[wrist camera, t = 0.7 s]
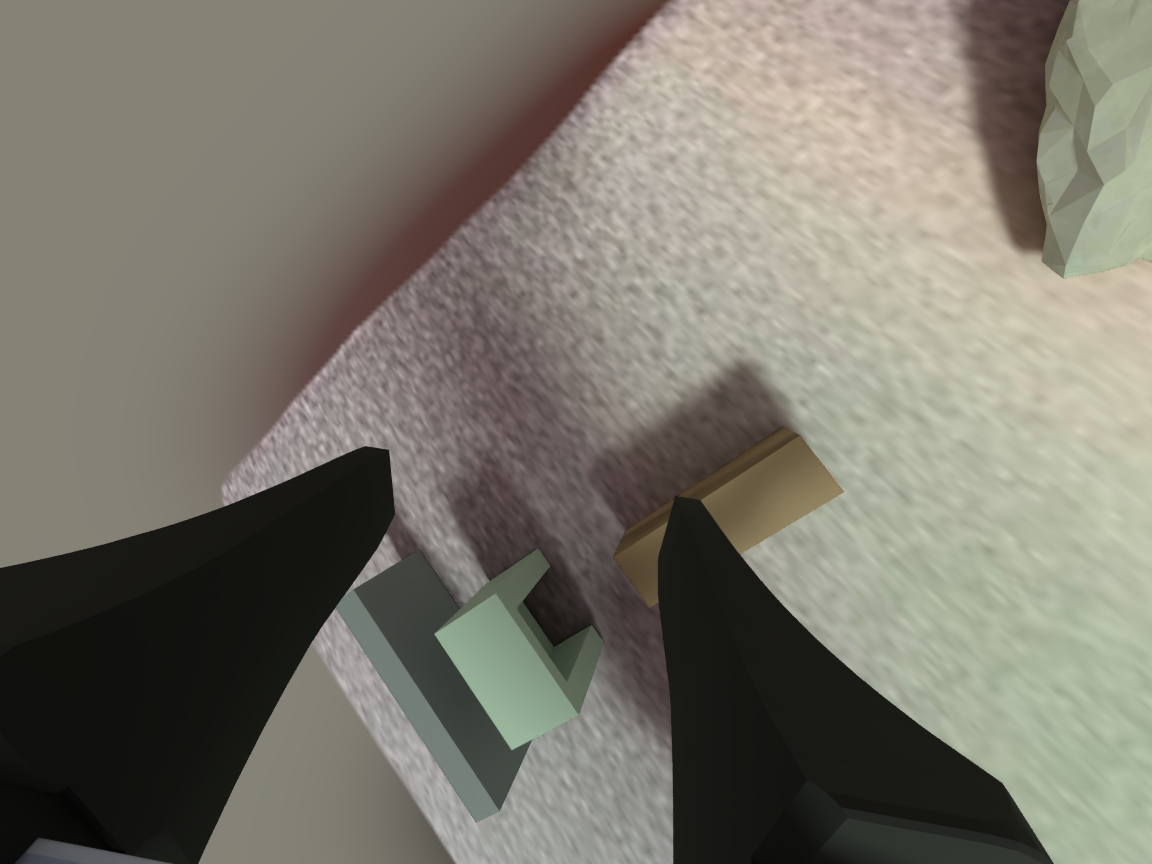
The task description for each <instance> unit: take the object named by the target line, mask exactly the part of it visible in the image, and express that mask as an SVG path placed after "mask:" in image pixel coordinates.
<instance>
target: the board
mask: <svg viewBox="0 0 1152 864" xmlns="http://www.w3.org/2000/svg"><path fill="white" fill-rule="evenodd" d="M336 610H337V611H338V613H339V614H340V616H341V617H342V619H343V620H344V622H345V623H346V625H347V626H348V628H349V629H350V631H351V632H352V634H353V636H354V637H355V639H356V640H357V642H358V643H359V645H360V646H361V648H362V649H363V651H364V652H365V654H366V655H367V657H368V658H369V660H370V662H371V663H372V665H373V666H374V668H375V669H376V671H377V672H378V674H379V675H380V677H381V678H382V680H383V681H384V683H385V684H386V686H387V688H388V689H389V691H390V692H391V694H392V695H393V697H394V698H395V700H396V701H397V703H398V704H399V706H400V707H401V709H402V710H403V712H404V714H405V715H406V717H407V718H408V720H409V721H410V723H411V724H412V726H413V727H414V729H415V730H416V732H417V733H418V735H419V736H420V738H421V740H422V741H423V743H424V744H425V746H426V747H427V749H428V750H429V752H430V753H431V755H432V756H433V758H434V759H435V761H436V762H437V764H438V766H439V767H440V769H441V770H442V772H443V773H444V775H445V776H446V778H447V779H448V781H449V782H450V784H451V785H452V787H453V788H454V790H455V792H456V793H457V795H458V796H459V798H460V799H461V801H462V802H463V804H464V805H465V807H466V808H467V810H468V811H469V813H470V814H471V816H472V818H473V819H474V821H475V822H478V821H480V820H483V819H485V818H487V817H489V816H491V815H493V814H495V813H497V812H499V811H500V809H501V807H502V805H503V803H504V801H505V798H506V796H507V794H508V792H509V790H510V787H511V785H512V783H513V781H514V779H515V776H516V774H517V772H518V770H519V768H520V765H521V763H522V761H523V759H524V757H525V754H526V752H527V750H528V748H529V746H530V743H531V741H532V740H530V741H528V742H526V743H525V744H523V745H521V746H519V747H517V748H515V749H513V750H511V748H510V747H509V745H508V744H507V742H506V741H505V739H504V738H503V736H502V735H501V733H500V732H499V730H498V729H497V727H496V726H495V724H494V723H493V721H492V720H491V718H490V717H489V715H488V714H487V712H486V711H485V709H484V708H483V706H482V705H481V703H480V702H479V700H478V699H477V697H476V696H475V694H474V693H473V691H472V690H471V688H470V687H469V685H468V684H467V682H466V681H465V679H464V678H463V676H462V675H461V673H460V672H459V670H458V669H457V667H456V666H455V664H454V663H453V661H452V660H451V658H450V657H449V655H448V654H447V652H446V651H445V649H444V648H443V646H442V645H441V643H440V642H439V640H438V639H437V637H436V636H435V633H436V632H437V631H438V630H439V629H440V628H441V627H442V626H443V625H444V624H445V623H446V622H447V621H448V620H449V619H450V618H451V617H452V616H453V615H454V614H455V613H456V612H458V611H459V610H460V609H459V607H458V606H457V604H456V603H455V601H454V600H453V598H452V597H451V595H450V594H449V592H448V591H447V589H446V588H445V586H444V585H443V583H442V582H441V580H440V579H439V577H438V576H437V574H436V573H435V572H434V570H433V569H432V567H431V566H430V564H429V563H428V561H427V560H426V558H425V557H424V555H423V554H422V552H421V551H420V549H419V550H418V551H416V552H414V553H413V554H411V555H410V556H408V557H406V558H405V559H403V560H401V561H400V562H398V563H396V564H395V565H393V566H391V567H390V568H388V569H386V570H385V571H383V572H382V573H380V574H378V575H377V576H375V577H373V578H372V579H370V580H368V581H367V582H365V583H363V584H362V585H360V586H358V587H357V588H355V589H354V590H352V591H351V592H350V593H348V594H347V595H346V596H344V597H343V598H342V599H341V601H340V602H339V603H338V605H337V606H336Z"/></svg>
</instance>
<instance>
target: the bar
mask: <svg viewBox="0 0 1152 864" xmlns="http://www.w3.org/2000/svg"><path fill="white" fill-rule="evenodd" d="M843 492H844V491H843V490H842V488H841V487H840V486H839V485H838V483H837V482H836V481H835V479H834V478H833V477H832V476H831V474H830V473H829V472H828V471H827V469H826V468H825V467H824V465H823V464H822V463H821V462H820V460H819V459H818V458H817V456H816V455H815V454H814V453H813V451H812V450H811V449H810V447H809V446H808V445H807V444H806V442H805V441H804V440H803V439H802V437H801V436H800V435H798V434H796V433H794V432H792V431H790V430H788V429H786V428H784V427H781V428H779V429H778V430H776V431H775V432H773V433H772V434H770V435H769V436H767V437H766V438H764V439H763V440H761V441H760V442H758V443H757V444H755V445H754V446H752V447H751V448H749V449H748V450H746V451H745V452H743V453H742V454H740V455H739V456H737V457H736V458H734V459H733V460H731V461H730V462H728V463H727V464H725V465H724V466H722V467H721V468H719V469H718V470H716V471H715V472H713V473H712V474H710V475H709V476H707V477H706V478H704V479H703V480H701V481H700V482H698V483H697V484H695V485H694V486H692V487H691V488H689V489H688V490H686V491H685V492H683V493H682V494H680V495H679V496H680V497H686V498H692V499H698V500H701V502H702V503H703V504H704V506H705V507H706V509H707V510H708V511H709V513H710V514H711V516H712V517H713V518H714V520H715V521H716V523H717V524H718V526H719V527H720V528H721V530H722V531H723V532H724V534H725V535H726V537H727V538H728V539H729V541H730V542H731V543H732V545H733V546H734V547H735V549H736V550H737V551H738V553H739V554H741V553H743V552H744V551H746V550H748V549H749V548H751V547H753V546H754V545H756V544H758V543H759V542H761V541H763V540H765V539H766V538H768V537H770V536H771V535H773V534H775V533H776V532H778V531H780V530H781V529H783V528H785V527H786V526H788V525H790V524H791V523H793V522H795V521H796V520H798V519H800V518H801V517H803V516H805V515H806V514H808V513H810V512H811V511H813V510H815V509H816V508H818V507H820V506H821V505H823V504H825V503H827V502H828V501H830V500H832V499H833V498H835V497H837V496H838V495H840V494H842V493H843ZM674 499H675V498H674ZM674 499H673V500H671V501H670V502H668V503H667V504H665V505H664V506H662V507H661V508H659V509H658V510H656V511H655V512H653V513H652V514H650V515H649V516H647V517H646V518H644V519H643V520H641V521H640V522H638V523H637V524H635V525H634V526H632V527H631V528H629V529H628V530H626V531H625V533H624V535H623V537H622V539H621V541H620V544H619V546H618V548H617V550H616V552H615V554H614V556H613V559H614V560H615V561H616V563H617V564H618V565H619V567H620V568H621V570H622V571H623V572H624V574H625V575H626V576H627V578H628V579H629V581H630V582H631V583H632V585H633V586H634V587H635V589H636V590H637V592H638V593H639V594H640V596H641V597H642V598H643V600H644V601H645V603H646V604H647V605H648V607H649V608H651V607H652V606H654V605H656V604H657V603H659V601H658V555H659V552H660V548H661V545H662V541H663V538H664V534H665V531H666V527H667V524H668V520H669V516H670V513H671V509H672V506H673V502H674Z"/></svg>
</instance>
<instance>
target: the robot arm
mask: <svg viewBox="0 0 1152 864" xmlns="http://www.w3.org/2000/svg"><path fill="white" fill-rule="evenodd" d="M394 515H395V509H394V498H393V487H392V477H391V466H390V456H389V450H386V449H380V448H374V447H367V446H365V447H362V448H359V449H356V450H354V451H352V452H349V453H347V454H345V455H342V456H340V457H338V458H336V459H334V460H331V461H329V462H327V463H325V464H323V465H321V466H318V467H316V468H314V469H312V470H310V471H307V472H305V473H303V474H301V475H299V476H296V477H294V478H292V479H290V480H288V481H285V482H283V483H281V484H278V485H276V486H274V487H271V488H269V489H266V490H264V491H262V492H259V493H257V494H254V495H252V496H250V497H247V498H245V499H242V500H240V501H238V502H235V503H233V504H230V505H227V506H225V507H222V508H219V509H217V510H214V511H211V512H208V513H206V514H203V515H200V516H197V517H194V518H191V519H188V520H185V521H182V522H179V523H176V524H173V525H170V526H167V527H163V528H160V529H156V530H153V531H149V532H146V533H142V534H139V535H135V536H132V537H128V538H125V539H121V540H118V541H114V542H111V543H107V544H104V545H100V546H96V547H92V548H88V549H83V550H79V551H75V552H71V553H67V554H63V555H59V556H54V557H50V558H45V559H41V560H36V561H32V562H27V563H23V564H18V565H13V566H8V567H4V568H0V864H198V863H199V861H200V858H201V856H202V854H203V852H204V850H205V847H206V845H207V843H208V840H209V839H210V837H211V835H212V832H213V830H214V828H215V826H216V824H217V822H218V820H219V817H220V815H221V813H222V811H223V809H224V807H225V805H226V803H227V801H228V798H229V796H230V794H231V792H232V790H233V788H234V786H235V784H236V782H237V780H238V778H239V776H240V774H241V772H242V770H243V768H244V766H245V764H246V762H247V760H248V758H249V756H250V754H251V752H252V750H253V748H254V746H255V744H256V742H257V740H258V738H259V736H260V734H261V732H262V730H263V729H264V726H265V725H266V723H267V721H268V719H269V717H270V716H271V714H272V712H273V710H274V708H275V706H276V705H277V702H278V701H279V699H280V697H281V695H282V693H283V692H284V690H285V688H286V686H287V684H288V683H289V681H290V679H291V677H292V676H293V674H294V672H295V670H296V669H297V667H298V665H299V663H300V662H301V660H302V658H303V656H304V654H305V653H306V651H307V649H308V648H309V646H310V644H311V643H312V641H313V640H314V638H315V637H316V635H317V633H318V632H319V630H320V629H321V627H322V626H323V624H324V623H325V622H326V620H327V619H328V617H329V616H330V615H331V613H332V612H333V610H334V609H335V608H336V606H337V605H338V603H339V602H340V601H341V599H342V598H343V596H344V595H345V594H346V592H347V591H348V589H349V588H350V587H351V585H352V584H353V582H354V581H355V580H356V578H357V577H358V575H359V574H360V573H361V571H362V570H363V568H364V567H365V565H366V564H367V563H368V561H369V560H370V558H371V557H372V555H373V554H374V552H375V551H376V549H377V548H378V546H379V544H380V542H381V541H382V539H383V537H384V535H385V533H386V531H387V529H388V527H389V525H390V523H391V521H392V519H393V517H394ZM658 601H659V609H660V617H661V626H662V633H663V641H664V649H665V657H666V665H667V673H668V681H669V690H670V702H671V726H672V762H673V864H1054V863H1053V862H1052V860H1051V859H1050V857H1049V855H1048V854H1047V852H1046V851H1045V849H1044V847H1043V846H1042V844H1041V843H1040V841H1039V840H1038V838H1037V836H1036V835H1035V833H1034V832H1033V830H1032V828H1031V827H1030V825H1029V824H1028V822H1027V821H1026V819H1025V817H1024V816H1023V814H1022V813H1021V811H1020V810H1019V808H1018V806H1017V805H1016V803H1015V802H1014V800H1013V798H1012V797H1011V795H1010V794H1009V792H1008V791H1007V789H1006V788H1005V786H1004V785H1003V784H1002V783H1001V782H1000V781H999V780H997V779H996V778H994V777H993V776H991V775H990V774H989V773H987V772H986V771H984V770H983V769H981V768H980V767H979V766H977V765H976V764H974V763H973V762H971V761H970V760H969V759H967V758H966V757H964V756H963V755H961V754H960V753H959V752H957V751H956V750H954V749H953V748H951V747H950V746H949V745H947V744H946V743H944V742H943V741H941V740H940V739H939V738H937V737H936V736H934V735H933V734H931V733H930V732H929V731H927V730H926V729H925V728H923V727H922V726H921V725H919V724H918V723H917V722H915V721H914V720H913V719H911V718H910V717H909V716H908V715H906V714H905V713H904V712H902V711H901V710H900V709H898V708H897V707H896V706H895V705H893V704H892V703H891V702H889V701H888V700H887V699H886V698H884V697H883V696H882V695H881V694H879V693H878V692H877V691H876V690H874V689H873V688H872V687H871V686H870V685H868V684H867V683H866V682H865V681H863V680H862V679H861V678H860V677H859V676H857V675H856V674H855V673H854V672H853V671H852V670H851V669H849V668H848V667H847V666H846V665H845V664H844V663H843V662H841V661H840V660H839V659H838V658H837V657H836V656H835V655H833V654H832V653H831V652H830V651H829V650H828V649H827V648H826V647H825V646H824V645H822V644H821V643H820V642H819V641H818V640H817V639H816V638H815V637H814V636H813V635H812V634H811V633H810V632H809V631H808V630H807V629H806V628H805V627H804V626H803V625H802V624H801V623H800V622H799V621H798V620H797V619H796V618H795V617H794V616H793V615H792V614H791V613H790V612H789V611H788V610H787V609H786V608H785V607H784V606H783V605H782V604H781V603H780V602H779V600H778V599H777V598H776V597H775V596H774V595H773V594H772V593H771V591H770V590H769V589H768V588H767V587H766V586H765V585H764V583H763V582H762V581H761V580H760V579H759V578H758V576H757V575H756V574H755V573H754V572H753V570H752V569H751V568H750V567H749V565H748V564H747V563H746V562H745V560H744V559H743V558H742V557H741V555H740V554H739V553H738V551H737V550H736V549H735V547H734V546H733V545H732V543H731V542H730V541H729V539H728V538H727V537H726V535H725V534H724V532H723V531H722V530H721V528H720V527H719V526H718V524H717V523H716V521H715V520H714V518H713V517H712V516H711V514H710V513H709V511H708V510H707V509H706V507H705V506H704V504H703V503H702V502H701V500H698V499H692V498H686V497H680V496H675V499H674V502H673V506H672V509H671V513H670V516H669V520H668V524H667V527H666V531H665V534H664V538H663V541H662V545H661V548H660V552H659V555H658Z"/></svg>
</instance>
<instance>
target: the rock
mask: <svg viewBox="0 0 1152 864" xmlns="http://www.w3.org/2000/svg"><path fill="white" fill-rule="evenodd" d="M1045 88H1046V109H1045V113H1044V116H1043V119H1042V123H1041V126H1040V130H1039V133H1038V138H1039V145H1038V153H1037V161H1036V163H1037V173H1038V184H1039V194H1040V199H1041V203H1042V207H1043V211H1044V215H1045V219H1046V223H1047V229H1046V235H1045V242H1044V248H1043V255H1042V262H1043V263H1044V264H1046V265H1047V266H1048V267H1049V268H1051V269H1052V270H1053V271H1054V272H1056V273H1057V274H1058V275H1059V276H1061V277H1062V278H1063V279H1066V278H1072V277H1077V276H1083V275H1088V274H1094V273H1100V272H1104V271H1108V270H1111V269H1115V268H1118V267H1122V266H1125V265H1127V264H1129V263H1130V262H1132V261H1134V260H1136V259H1143V260H1146V261H1148V262H1151V263H1152V0H1070V1H1069V3H1068V6H1067V8H1066V10H1065V13H1064V15H1063V18H1062V20H1061V22H1060V25H1059V27H1058V30H1057V33H1056V36H1055V38H1054V41H1053V44H1052V47H1051V49H1050V52H1049V55H1048V58H1047V61H1046V63H1045Z"/></svg>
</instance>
